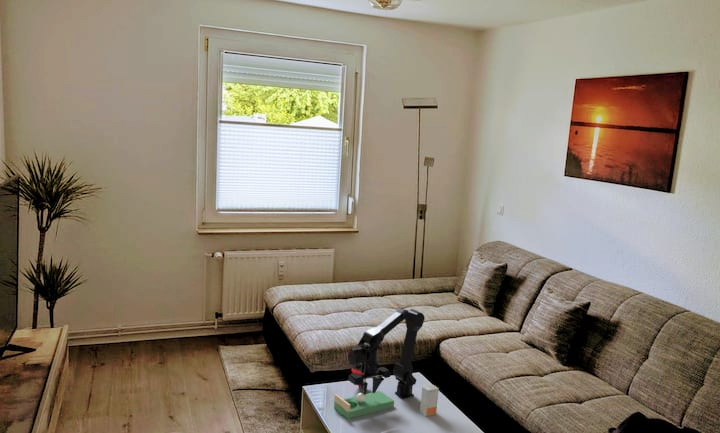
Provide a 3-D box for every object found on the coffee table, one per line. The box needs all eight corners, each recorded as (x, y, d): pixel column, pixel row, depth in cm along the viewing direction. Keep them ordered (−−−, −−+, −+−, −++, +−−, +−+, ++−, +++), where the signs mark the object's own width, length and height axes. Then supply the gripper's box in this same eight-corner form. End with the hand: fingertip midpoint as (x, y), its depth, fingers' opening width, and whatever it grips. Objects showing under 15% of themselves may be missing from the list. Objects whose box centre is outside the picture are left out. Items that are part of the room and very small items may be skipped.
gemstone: (367, 393, 259) (368, 373, 258) (348, 391, 261) (349, 370, 260) (370, 386, 268) (372, 365, 267) (352, 383, 270) (354, 363, 269)
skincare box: (425, 417, 241) (427, 390, 239) (419, 412, 244) (421, 386, 243) (436, 414, 243) (439, 388, 242) (431, 410, 247) (433, 384, 246)
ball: (363, 396, 247) (360, 389, 246) (368, 400, 244) (365, 393, 242) (356, 402, 245) (353, 395, 244) (361, 405, 242) (358, 398, 241)
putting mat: (379, 397, 257) (380, 384, 256) (393, 407, 248) (394, 394, 247) (333, 408, 243) (333, 394, 242) (346, 419, 234) (347, 405, 233)
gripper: (377, 350, 256) (375, 382, 258) (342, 357, 245) (340, 391, 248) (392, 358, 247) (390, 392, 249) (356, 366, 236) (354, 402, 238)
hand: (368, 394), depth 246 cm, fingers open, 5 cm apart
